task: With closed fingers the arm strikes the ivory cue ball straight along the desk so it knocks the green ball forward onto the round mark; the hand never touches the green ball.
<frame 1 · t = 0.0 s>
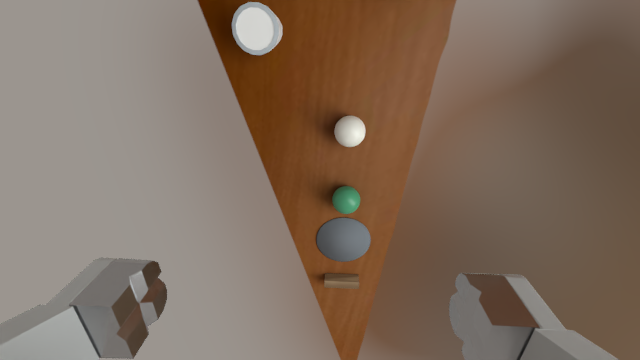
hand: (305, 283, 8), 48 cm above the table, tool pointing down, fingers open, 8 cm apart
cue ball: (349, 131, 53), on the table
shot glass: (265, 30, 49), on the table
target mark: (343, 240, 67), on the table
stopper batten: (341, 277, 71), on the table
green ball: (346, 199, 59), on the table
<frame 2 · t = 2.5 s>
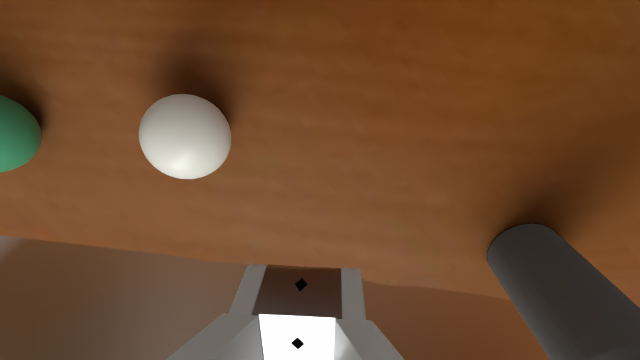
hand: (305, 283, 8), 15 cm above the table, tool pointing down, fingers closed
cue ball: (187, 137, 20), on the table
bottle: (520, 249, 26), on the table
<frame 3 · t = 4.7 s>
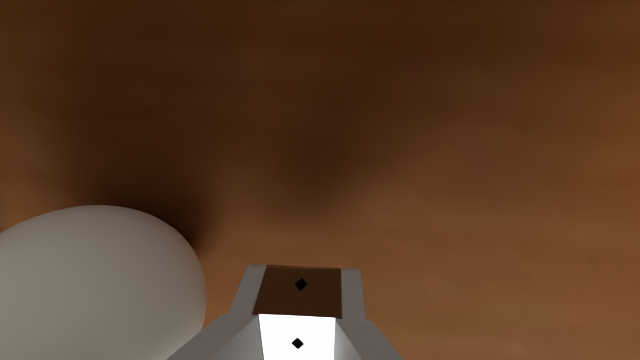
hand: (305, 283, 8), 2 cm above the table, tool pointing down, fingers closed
cue ball: (92, 312, 8), on the table
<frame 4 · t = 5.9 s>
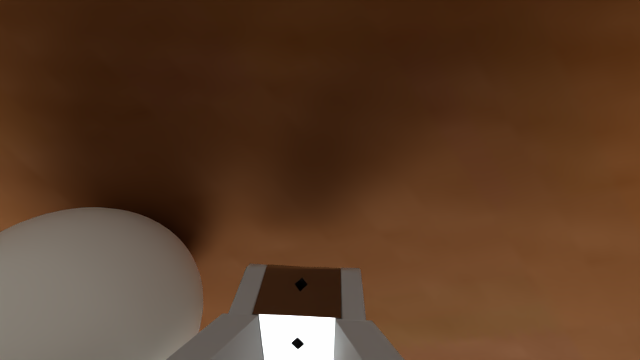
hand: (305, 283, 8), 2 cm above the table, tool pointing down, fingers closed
cue ball: (86, 315, 8), on the table
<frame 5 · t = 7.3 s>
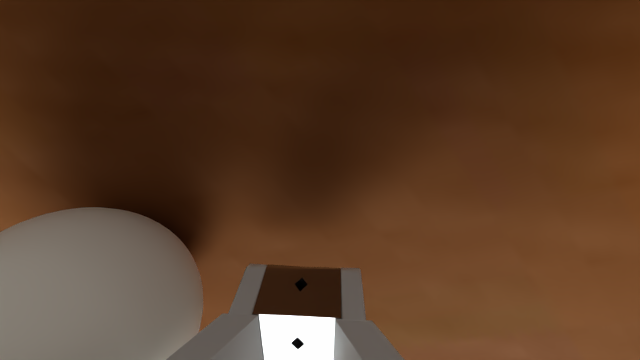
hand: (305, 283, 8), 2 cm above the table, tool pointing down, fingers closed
cue ball: (86, 315, 8), on the table
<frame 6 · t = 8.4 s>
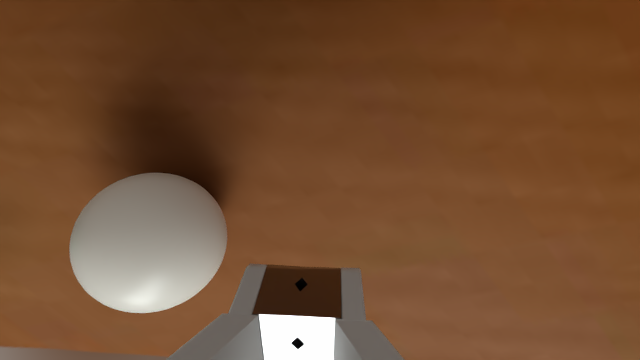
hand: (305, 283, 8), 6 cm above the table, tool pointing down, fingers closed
cue ball: (157, 239, 12), on the table
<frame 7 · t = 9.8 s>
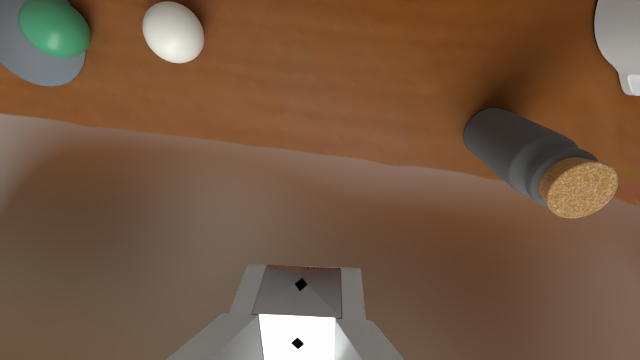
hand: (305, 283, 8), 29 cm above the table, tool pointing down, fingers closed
cue ball: (174, 33, 30), on the table
bottle: (487, 131, 35), on the table
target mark: (30, 29, 33), on the table
green ball: (56, 29, 30), on the table
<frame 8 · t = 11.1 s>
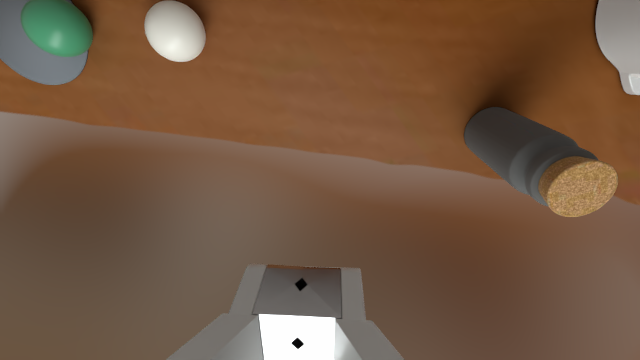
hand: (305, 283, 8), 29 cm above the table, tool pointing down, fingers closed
cue ball: (176, 32, 30), on the table
bottle: (488, 130, 35), on the table
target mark: (32, 28, 33), on the table
green ball: (58, 27, 30), on the table
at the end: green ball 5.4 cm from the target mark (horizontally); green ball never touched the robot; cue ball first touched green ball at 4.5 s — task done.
